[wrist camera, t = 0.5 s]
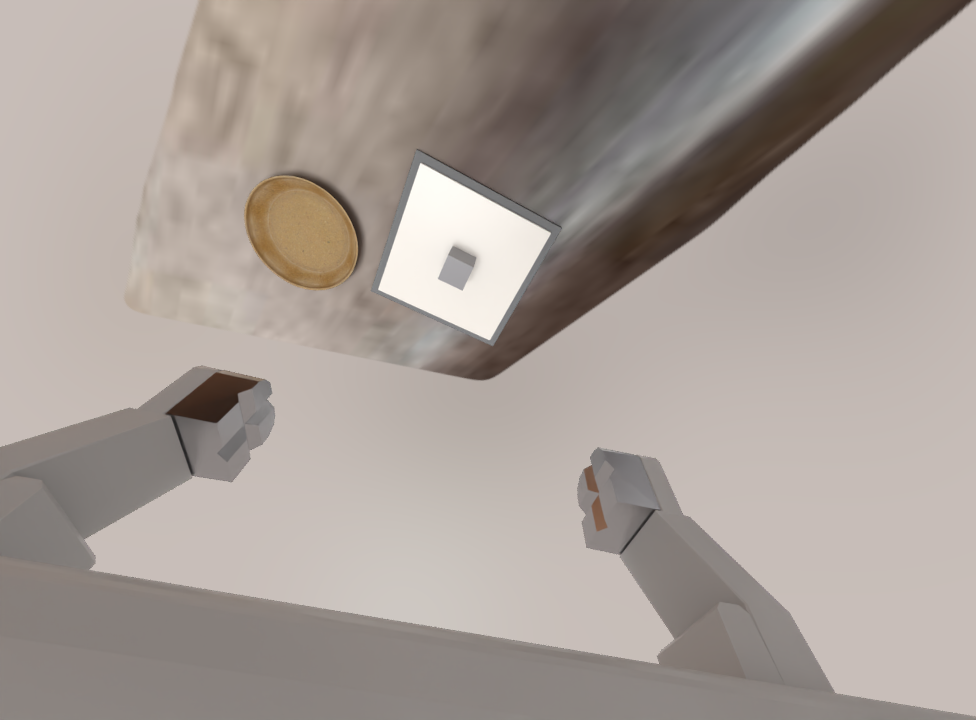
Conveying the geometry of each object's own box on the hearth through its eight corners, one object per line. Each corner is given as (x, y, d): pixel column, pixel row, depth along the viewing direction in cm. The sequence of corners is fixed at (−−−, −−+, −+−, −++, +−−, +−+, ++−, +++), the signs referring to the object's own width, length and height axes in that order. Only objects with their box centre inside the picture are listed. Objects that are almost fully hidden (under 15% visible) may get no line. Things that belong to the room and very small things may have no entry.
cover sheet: (421, 162, 44) (412, 166, 40) (550, 231, 47) (553, 241, 43) (379, 288, 53) (368, 301, 49) (489, 338, 56) (488, 354, 52)
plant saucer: (360, 181, 46) (352, 184, 44) (367, 290, 54) (361, 297, 52) (244, 165, 46) (230, 167, 44) (268, 276, 54) (258, 282, 52)
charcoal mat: (417, 149, 43) (416, 149, 43) (561, 227, 47) (561, 228, 47) (372, 289, 54) (370, 290, 53) (493, 344, 57) (492, 346, 57)
